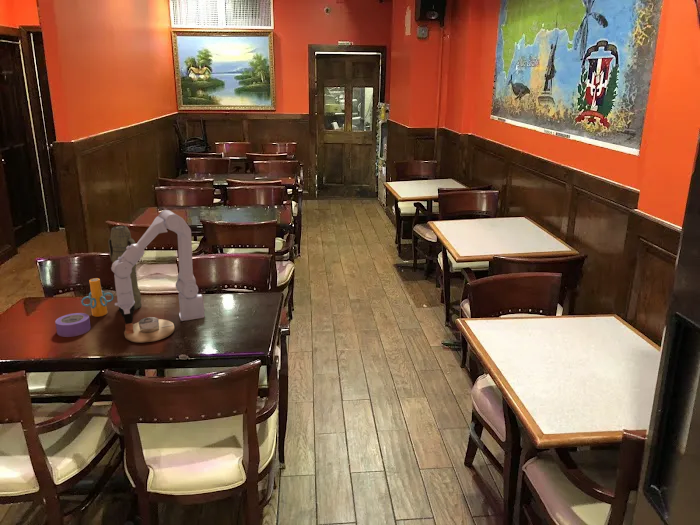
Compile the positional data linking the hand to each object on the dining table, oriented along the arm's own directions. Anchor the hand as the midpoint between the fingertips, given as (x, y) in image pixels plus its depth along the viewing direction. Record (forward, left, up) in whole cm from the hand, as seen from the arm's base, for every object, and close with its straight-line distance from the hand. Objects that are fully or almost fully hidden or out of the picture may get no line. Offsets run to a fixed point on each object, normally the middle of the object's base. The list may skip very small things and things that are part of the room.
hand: (129, 324), depth 216 cm
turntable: (-7, +5, -3) cm, 9 cm away
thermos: (-1, -25, -3) cm, 25 cm away
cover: (-7, +5, -1) cm, 9 cm away
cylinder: (+11, -22, -3) cm, 25 cm away
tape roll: (+20, -9, -3) cm, 22 cm away
